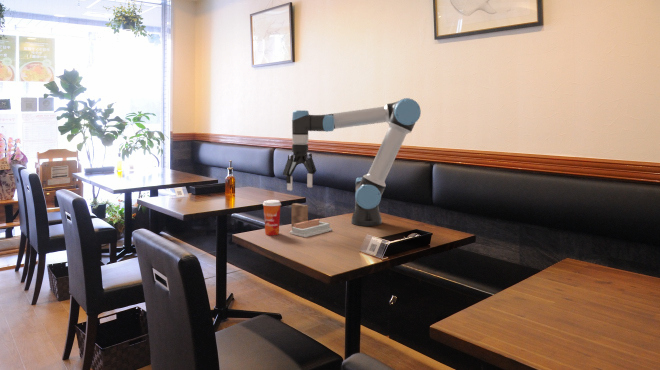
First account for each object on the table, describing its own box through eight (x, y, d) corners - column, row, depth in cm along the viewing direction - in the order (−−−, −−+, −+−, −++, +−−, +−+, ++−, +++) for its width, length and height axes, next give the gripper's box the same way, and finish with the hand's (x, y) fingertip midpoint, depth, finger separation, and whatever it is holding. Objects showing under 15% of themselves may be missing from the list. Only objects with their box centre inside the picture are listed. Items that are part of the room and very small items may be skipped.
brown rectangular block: (291, 226, 235) (291, 204, 233) (295, 225, 237) (296, 203, 235) (303, 229, 229) (303, 206, 228) (307, 228, 232) (307, 205, 230)
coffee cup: (259, 234, 217) (259, 201, 215) (268, 230, 225) (268, 199, 223) (276, 236, 214) (275, 203, 212) (284, 232, 222) (284, 200, 219)
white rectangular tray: (316, 226, 234) (316, 217, 233) (332, 230, 228) (332, 221, 227) (289, 233, 221) (289, 223, 220) (305, 237, 214) (305, 227, 213)
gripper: (312, 142, 239) (312, 185, 242) (275, 144, 220) (275, 190, 223) (323, 143, 234) (323, 186, 237) (286, 145, 215) (286, 192, 218)
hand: (300, 188), depth 230 cm, fingers open, 13 cm apart
